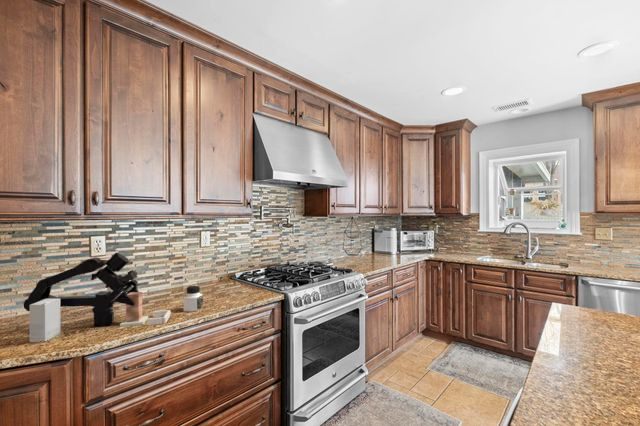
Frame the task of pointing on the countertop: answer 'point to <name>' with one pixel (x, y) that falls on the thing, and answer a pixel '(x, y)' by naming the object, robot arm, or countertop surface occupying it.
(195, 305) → the medicine bottle
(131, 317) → the pink rectangular block
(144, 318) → the lid board
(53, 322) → the skincare box
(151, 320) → the toolbox compartment
